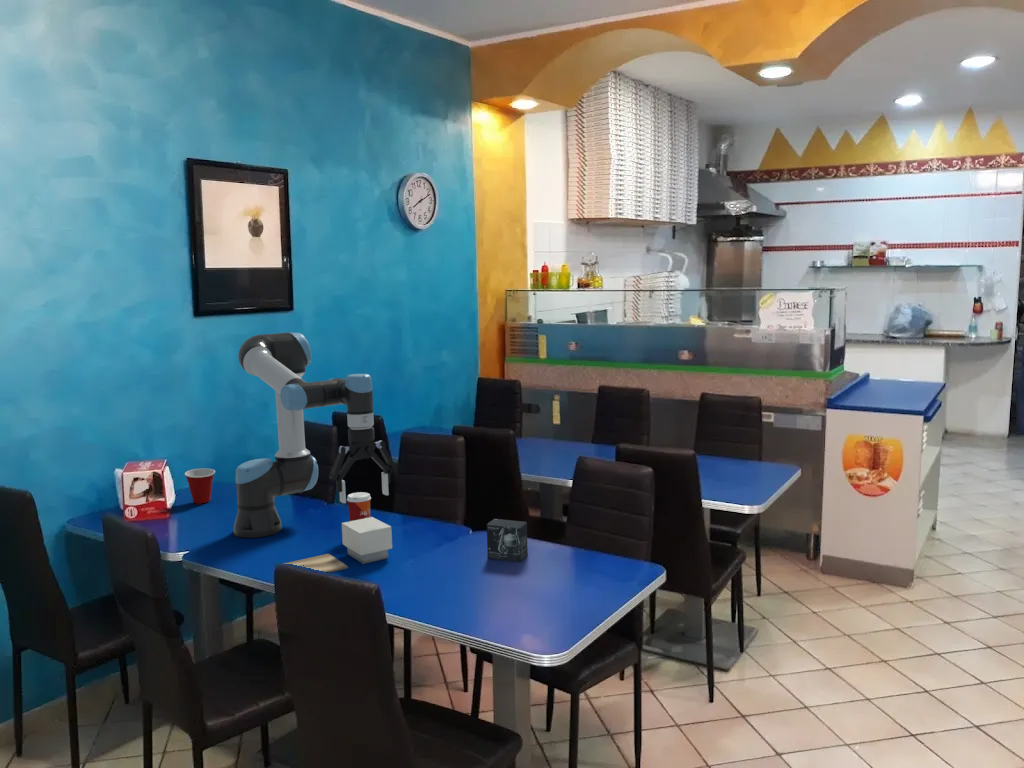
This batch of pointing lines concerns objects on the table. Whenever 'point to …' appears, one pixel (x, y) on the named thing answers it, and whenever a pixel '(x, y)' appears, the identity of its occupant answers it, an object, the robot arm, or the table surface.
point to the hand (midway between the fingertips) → (364, 498)
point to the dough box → (368, 556)
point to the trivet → (321, 563)
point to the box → (507, 540)
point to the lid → (367, 535)
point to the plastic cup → (200, 484)
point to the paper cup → (359, 505)
